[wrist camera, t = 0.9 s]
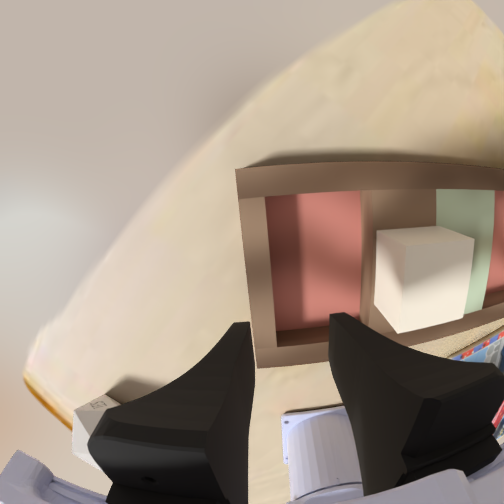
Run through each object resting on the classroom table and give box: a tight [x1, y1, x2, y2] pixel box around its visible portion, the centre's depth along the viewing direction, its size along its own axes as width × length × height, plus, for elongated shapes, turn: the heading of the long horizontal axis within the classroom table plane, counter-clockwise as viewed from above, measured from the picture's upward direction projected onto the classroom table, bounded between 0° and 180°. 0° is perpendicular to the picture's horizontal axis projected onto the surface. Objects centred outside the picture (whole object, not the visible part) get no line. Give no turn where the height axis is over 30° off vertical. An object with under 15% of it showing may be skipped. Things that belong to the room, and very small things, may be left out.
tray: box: [235, 161, 504, 368], centre depth 18 cm, size 14×28×2 cm, turn 96°
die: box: [72, 394, 122, 471], centre depth 21 cm, size 8×9×10 cm
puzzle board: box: [447, 326, 504, 440], centre depth 24 cm, size 30×23×3 cm
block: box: [374, 226, 475, 334], centre depth 15 cm, size 5×5×4 cm
